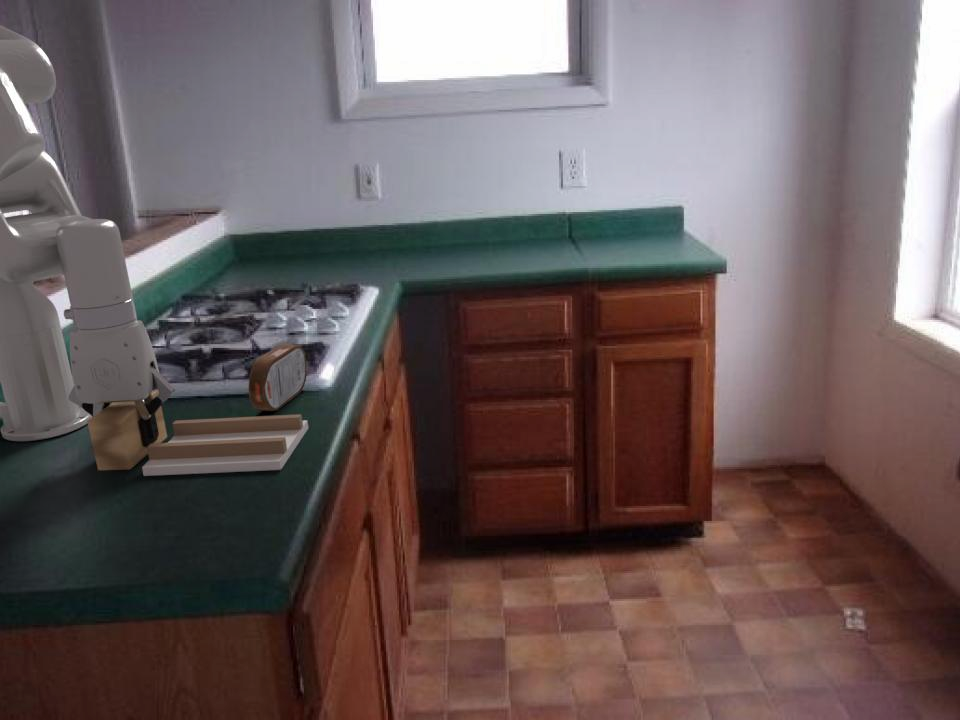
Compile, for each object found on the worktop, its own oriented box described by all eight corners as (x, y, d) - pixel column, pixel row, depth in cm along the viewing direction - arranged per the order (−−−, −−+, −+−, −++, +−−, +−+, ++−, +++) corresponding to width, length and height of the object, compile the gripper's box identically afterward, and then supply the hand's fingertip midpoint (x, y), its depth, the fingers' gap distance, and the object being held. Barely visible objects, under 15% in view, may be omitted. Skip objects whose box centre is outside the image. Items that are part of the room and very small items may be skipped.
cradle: (143, 475, 110) (139, 454, 110) (185, 434, 124) (182, 414, 123) (280, 469, 109) (277, 447, 108) (308, 428, 122) (305, 408, 121)
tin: (295, 385, 142) (288, 336, 139) (313, 386, 141) (306, 336, 138) (251, 419, 128) (242, 365, 125) (270, 420, 127) (261, 365, 125)
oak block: (98, 470, 113) (86, 420, 111) (137, 437, 124) (128, 392, 122) (130, 469, 113) (119, 419, 111) (167, 436, 123) (158, 390, 121)
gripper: (27, 326, 110) (58, 458, 115) (155, 319, 108) (181, 452, 114) (58, 312, 117) (86, 436, 122) (178, 304, 116) (202, 431, 121)
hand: (132, 443), depth 118 cm, fingers closed on oak block, 4 cm apart
